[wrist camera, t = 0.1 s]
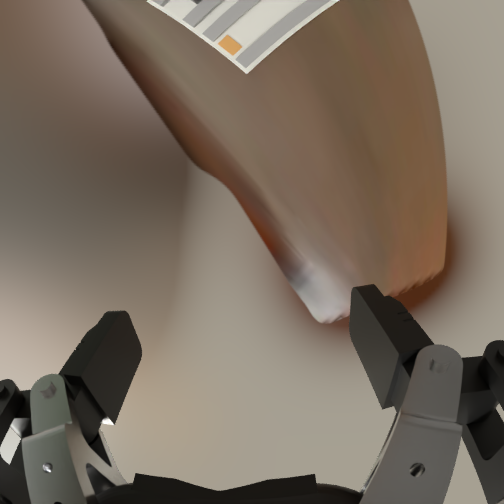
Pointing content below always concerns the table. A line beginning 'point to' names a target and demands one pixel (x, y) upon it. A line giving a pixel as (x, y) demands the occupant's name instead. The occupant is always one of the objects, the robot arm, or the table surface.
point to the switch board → (243, 24)
